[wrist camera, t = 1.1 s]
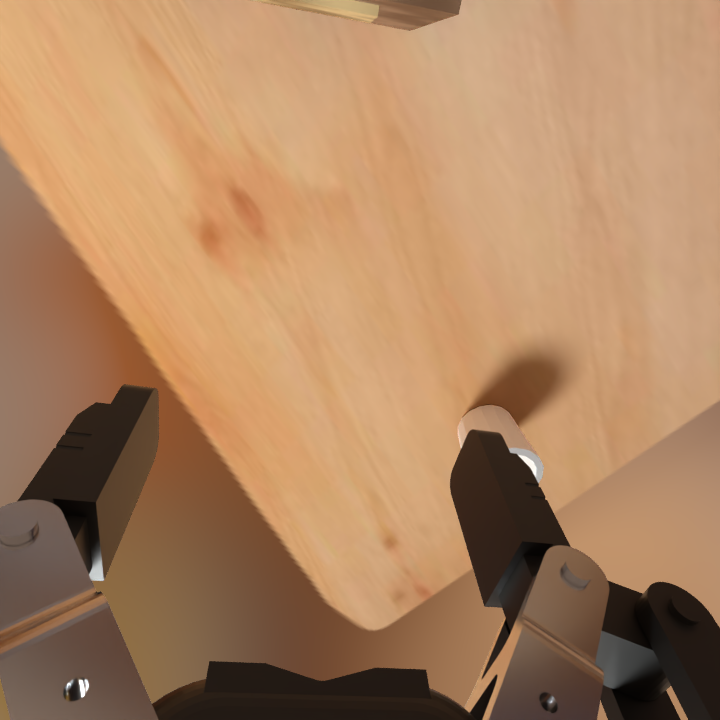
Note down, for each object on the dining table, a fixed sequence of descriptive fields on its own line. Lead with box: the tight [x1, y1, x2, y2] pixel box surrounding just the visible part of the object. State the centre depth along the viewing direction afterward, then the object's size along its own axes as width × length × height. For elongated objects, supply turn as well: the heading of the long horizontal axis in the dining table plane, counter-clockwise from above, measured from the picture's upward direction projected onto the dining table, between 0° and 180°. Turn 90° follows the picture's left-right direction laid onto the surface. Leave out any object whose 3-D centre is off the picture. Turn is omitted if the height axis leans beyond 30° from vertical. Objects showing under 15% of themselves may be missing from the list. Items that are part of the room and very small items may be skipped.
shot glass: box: [458, 405, 544, 483], centre depth 46 cm, size 7×7×7 cm
